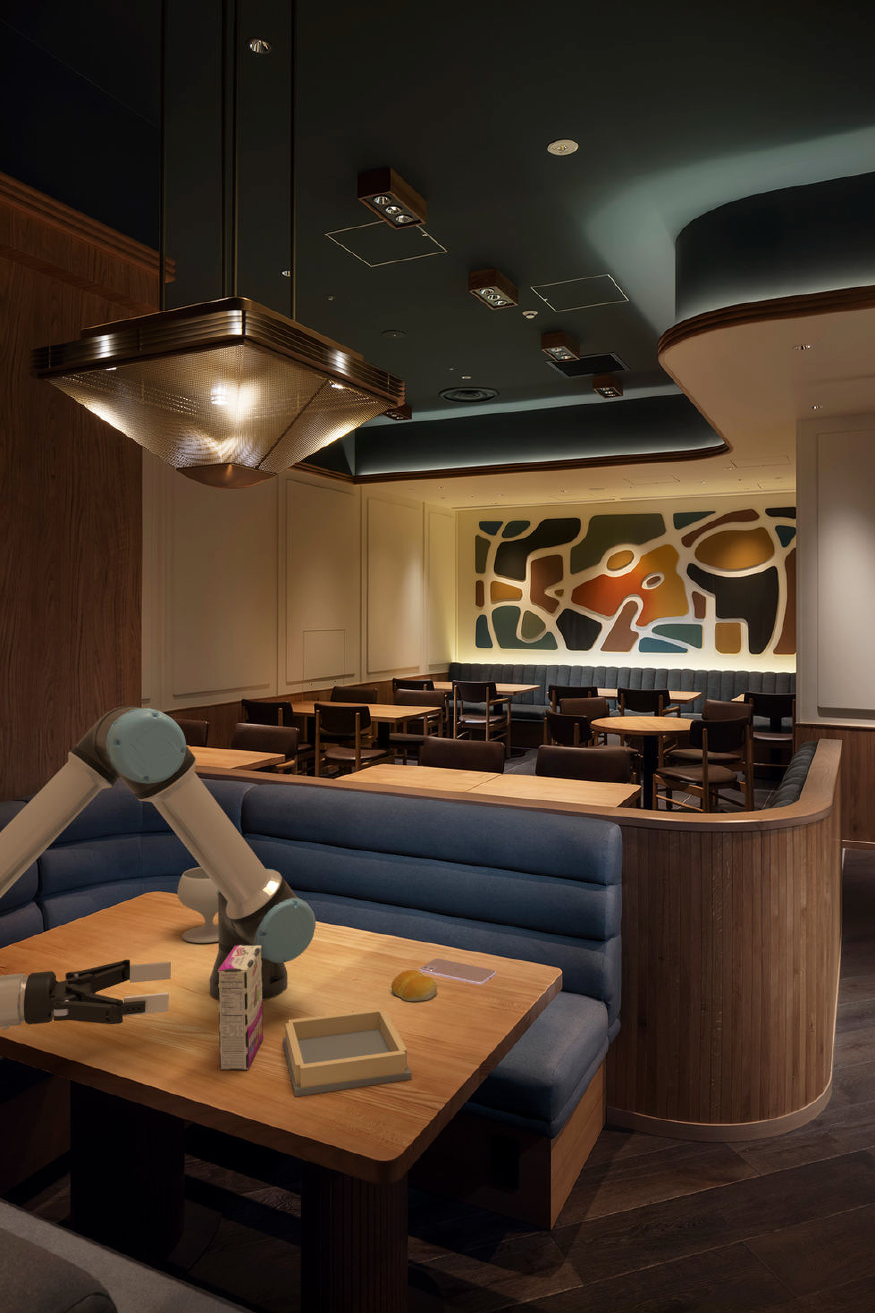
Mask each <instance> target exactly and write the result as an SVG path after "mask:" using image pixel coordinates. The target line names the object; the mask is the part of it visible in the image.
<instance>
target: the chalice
mask: <svg viewBox="0 0 875 1313" xmlns="http://www.w3.org/2000/svg"><path fill="white" fill-rule="evenodd" d="M217 892H218V888H217V887H216V885H215V884H214V883H213V881H212V880H211V879H210V878H209V876H208V875H207V874H206V872H205V871H204V870H203V868H202V867H201V866H198V867H194V868H191V869H188V870H185V871H184V872H182V875H181V876H180V879H179V882H178V886H177V898H178V901H179V902H180V903H181V904H182V905H183V906H185V907H186V908H188V909H190V910H192V911H195V912H196V913H199V914H200V915H201V916H202V917H203V918H204V925H200V926H197V927H194V928H190V929H189V930H187V931H185V932H184V933H183V934H182V935H181V938H182V939H183V940H184V941H186V942H189V943H194V944H195V943H197V944H208V943H217V942H219V940H218V924H214V918H215V916H216V914H218V895H217Z"/></svg>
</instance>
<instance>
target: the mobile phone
mask: <svg viewBox="0 0 875 1313" xmlns="http://www.w3.org/2000/svg"><path fill="white" fill-rule="evenodd" d="M419 972H420V973H422V974H428V975H431V976H432V975H433V976H437V977H442V978H446V979H451V980H455V981H460V982H463V983H470V984H473V985H478V986H479V985H484V984H485V983H487V982H488V981H489V980H490V979H492V978H494V977H495V976H496V975H497V972H496V970H494V969H491V968H487V967H486V968H485V967H481V966H480V967H479V966H476V965H471V964H468V963H467V964H466V963H461V962H456V961H451V960H448V959H442V958H434V959H432V960H430V961H429V962H428V963H426V964H424V965H423V966H421V967H420V968H419Z"/></svg>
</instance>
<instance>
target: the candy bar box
mask: <svg viewBox="0 0 875 1313" xmlns="http://www.w3.org/2000/svg"><path fill="white" fill-rule="evenodd" d="M261 947H262V946H261V945H245V946H243V945H237V946H234V948H233V949H232V951H231V952H230V954H229V955H228V957H227V958H226V960H225V961H224V962H223V964H222V965H221V967H220V968H219V969H218V999H217V1000H218V1029H219V1032H218V1034H219V1036H218V1038H219V1070H221V1071H244V1070H245V1071H247V1070H249V1069H250V1067H251V1065H252V1063H253V1061H254V1058H255V1056H256V1054H257V1052H258V1049H259V1048H260V1046H261V1044H262V1041H263V1040H264V1024H263V1023H264V1022H263V1020H264V1018H263V1017H264V1016H263V1014H264V1012H263V1011H264V1010H263V1008H264V1007H263V1000H262V957H261Z"/></svg>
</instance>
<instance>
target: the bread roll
mask: <svg viewBox="0 0 875 1313" xmlns="http://www.w3.org/2000/svg"><path fill="white" fill-rule="evenodd" d="M390 986H391V987H390V988H391V991H392V993H393V994H394V995H395V996H397V997H398V998H401V999H402V1000H404V1001H406V1002H422V1001H423V1002H425V1001H427V1000H431V999H432V998H434V997H435V996H436V994H437V992H438V990H437V989H438V986H437V983H436V981H435V979H434V978H433V977H430V976H426V975H425V974H424V973H423V972H420V971H418V970H415V969H414V970H413V969H409V970H404V971H401V973H399V974H398V975H396V976H395V977H394V978H393V980H392V982H391V985H390Z"/></svg>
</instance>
